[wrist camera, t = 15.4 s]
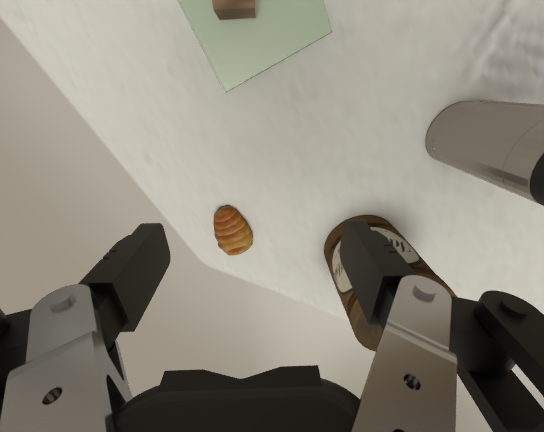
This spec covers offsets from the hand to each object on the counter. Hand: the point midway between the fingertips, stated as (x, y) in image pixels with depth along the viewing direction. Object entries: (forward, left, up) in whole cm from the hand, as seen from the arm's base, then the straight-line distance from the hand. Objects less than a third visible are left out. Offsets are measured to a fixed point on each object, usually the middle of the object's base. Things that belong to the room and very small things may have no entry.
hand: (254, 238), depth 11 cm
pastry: (+13, +14, -30) cm, 36 cm away
